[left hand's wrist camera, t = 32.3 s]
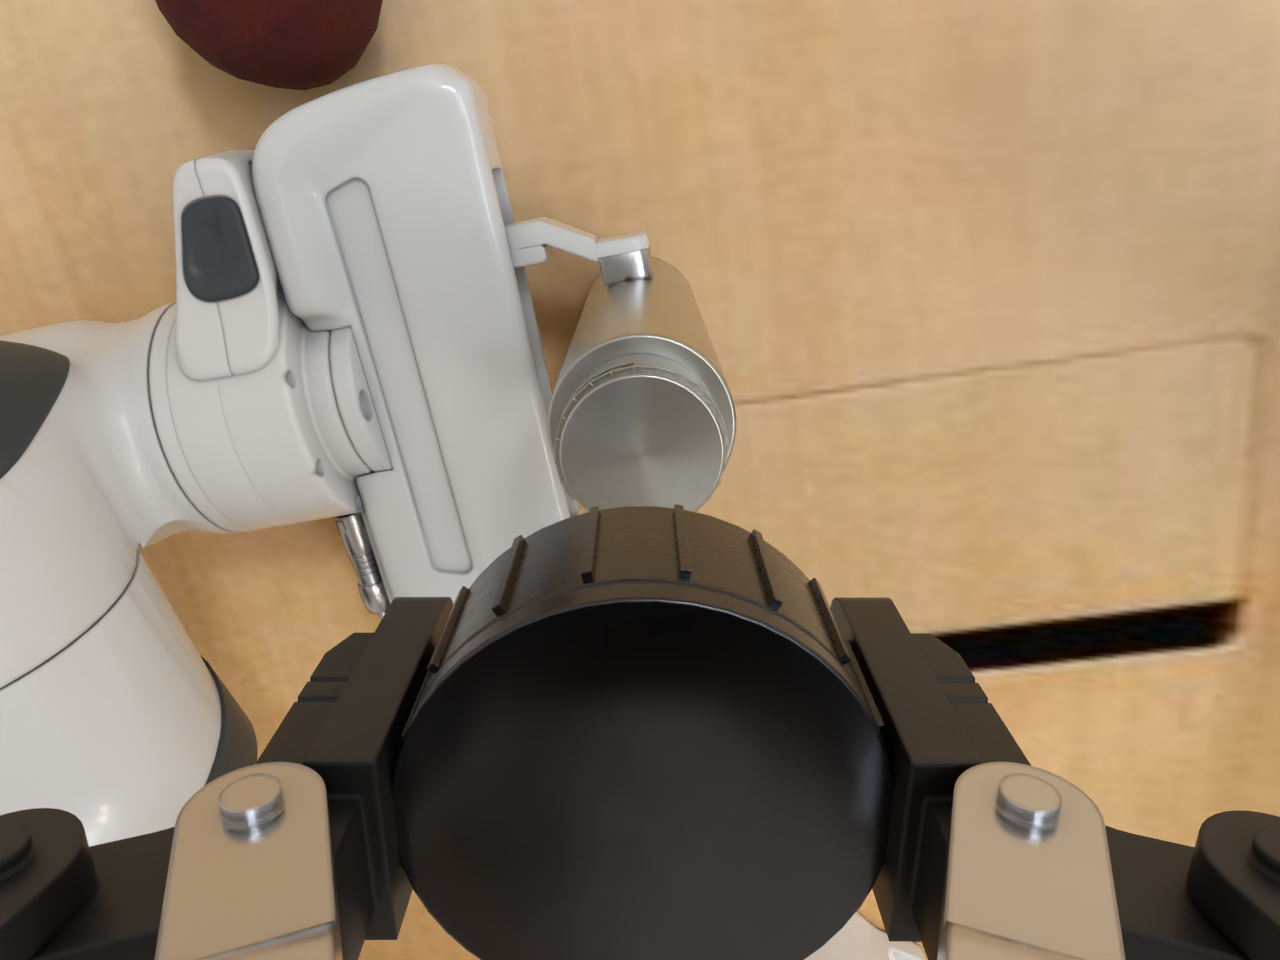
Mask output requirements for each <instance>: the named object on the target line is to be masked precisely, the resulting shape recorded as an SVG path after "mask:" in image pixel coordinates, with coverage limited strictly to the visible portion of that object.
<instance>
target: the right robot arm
mask: <svg viewBox="0 0 1280 960" xmlns="http://www.w3.org/2000/svg"><path fill="white" fill-rule="evenodd" d="M172 200H173V218H174V236H175V257H176V301H174V302H170V303H168V304H165V305H163V306H161V307H158V308H156V309H154V310H153V311H151V312H149V313H148V314H146V315H144V316H142V317H140V318H137V319H134V320H131V321H126V322H117V323H113V322H103V321H94V320H74V321H66V322H61V323H56V324H51V325H46V326H41V327H36V328H31V329H26V330H22V331H18V332H14V333H9V334H5V335H1V336H0V816H1V815H4V814H7V813H11V812H16V811H20V810H27V809H34V808H53V809H60V810H64V811H67V812H70V813H72V814H73V815H75V816H76V817H77V818H78V819H79V820H80V821H81V822H82V825H83V827H84V830H85V834H86V837H87V841H88V845H89V847H90V846H95V845H99V844H104V843H108V842H113V841H117V840H122V839H126V838H131V837H135V836H140V835H145V834H149V833H154V832H157V831H161V830H165V829H169V828H172V827H175V823H176V820H177V816H178V814H179V812H180V811H181V809H182V807H183V806H184V805H185V803H186V802H187V801H188V800H189V799H190V798H191V797H192V796H193V795H194V794H195V793H196V792H197V791H198V790H200V789H201V788H202V787H204V786H205V785H207V784H208V783H210V782H211V781H213V780H215V779H217V778H218V777H220V776H223V775H225V774H227V773H229V772H232V771H234V770H237V769H240V768H243V767H247V766H250V765H254V764H256V762H257V741H256V736H255V732H254V729H253V726H252V724H251V722H250V720H249V719H248V717H247V716H246V714H245V713H244V711H243V710H242V709H241V707H240V706H239V705H238V703H237V702H236V700H235V699H234V698H233V696H232V695H231V694H230V692H229V691H228V689H227V688H226V687H225V685H224V684H223V683H222V681H221V680H220V678H219V677H218V676H217V674H216V673H215V672H214V670H213V669H212V667H211V666H210V665H209V663H208V662H207V661H206V660H205V659H204V658H203V657H202V656H201V655H200V654H199V653H198V651H197V649H196V647H195V646H194V644H193V642H192V640H191V639H190V637H189V635H188V634H187V632H186V630H185V628H184V627H183V625H182V623H181V621H180V620H179V618H178V616H177V614H176V613H175V611H174V609H173V607H172V606H171V604H170V602H169V601H168V599H167V597H166V595H165V594H164V592H163V590H162V588H161V587H160V585H159V583H158V581H157V580H156V578H155V576H154V575H153V573H152V571H151V569H150V568H149V566H148V564H147V562H146V561H145V559H144V557H143V555H142V554H141V552H140V550H139V549H143V548H146V547H148V546H150V545H152V544H155V543H157V542H159V541H161V540H163V539H165V538H167V537H169V536H171V535H174V534H178V533H183V532H190V531H197V532H207V533H213V534H237V533H243V532H250V531H255V530H261V529H267V528H272V527H278V526H284V525H290V524H296V523H301V522H308V521H313V520H319V519H325V518H331V517H335V520H336V524H337V527H338V529H339V532H340V535H341V538H342V541H343V544H344V547H345V550H346V552H347V555H348V556H349V559H350V561H351V562H352V565H353V567H354V570H355V573H356V576H357V579H358V582H359V583H358V589H359V593H360V596H361V599H362V601H363V603H364V605H365V607H366V609H367V610H368V612H369V613H371V614H378V616H379V617H380V618H381V620H382V618H383V617H384V615H385V613H386V611H387V610H388V608H389V606H390V604H391V602H392V601H393V599H394V598H395V597H450V598H451V599H452V601H453V604H454V602H455V600H456V597H457V595H458V593H459V591H460V589H461V588H462V587H463V586H465V587H467V588H468V589H469V588H470V586H471V585H472V584H473V582H474V581H475V580H476V578H477V577H478V576H479V575H480V574H481V573H482V572H483V571H484V570H485V569H486V568H487V567H488V566H489V565H490V564H491V563H492V562H493V561H494V560H495V559H496V558H497V557H499V556H500V555H501V554H503V553H504V552H505V551H507V550H508V549H509V548H511V547H512V544H513V541H514V539H515V538H516V537H518V536H519V535H522V536H523V538H526V537H528V536H529V535H531V534H533V533H535V532H536V531H538V530H540V529H542V528H544V527H547V526H549V525H552V524H554V523H557V522H559V521H562V520H564V519H567V518H569V517H573V516H577V515H580V513H579V509H578V504H577V500H576V499H575V500H573V501H571V499H570V497H569V496H568V494H567V493H566V491H565V489H564V488H563V486H562V484H561V483H560V479H559V475H558V472H557V468H556V464H555V459H554V457H553V454H552V451H551V449H550V445H549V440H548V433H547V414H548V408H549V403H550V399H551V396H552V393H553V392H552V387H551V383H550V378H549V374H548V369H547V365H546V360H545V356H544V351H543V347H542V343H541V338H540V334H539V329H538V325H537V320H536V316H535V311H534V307H533V302H532V298H531V293H530V289H529V284H528V280H527V275H526V271H525V266H528V265H533V264H538V263H543V262H545V261H546V260H547V258H548V257H549V256H550V255H551V253H552V249H551V246H552V247H555V248H557V249H560V250H563V251H566V252H569V253H572V254H575V255H578V256H581V257H583V258H586V259H589V260H592V261H595V262H599V263H600V268H601V273H602V277H603V282H604V286H605V285H611V284H617V283H620V282H624V281H625V280H626V278H627V277H630V278H632V279H643V278H648V277H651V276H653V275H654V271H653V265H652V258H651V252H650V246H649V241H648V235H647V231H637V232H632V233H626V234H621V235H616V236H610V237H605V238H600V239H597V235H594V234H592V233H589V232H586V231H584V230H581V229H578V228H575V227H573V226H570V225H567V224H565V223H562V222H559V221H556V220H554V219H551V218H548V217H546V216H545V217H539V218H534V219H529V220H524V221H518V222H515V221H514V217H513V212H512V208H511V203H510V199H509V194H508V190H507V185H506V181H505V176H504V172H503V167H502V163H501V158H500V154H499V149H498V145H497V140H496V136H495V131H494V127H493V122H492V118H491V113H490V109H489V105H488V100H487V96H486V93H485V91H484V89H483V87H482V86H481V85H480V84H478V83H477V82H476V81H474V80H473V79H472V78H470V77H469V76H468V75H466V74H465V73H463V72H461V71H460V70H458V69H456V68H454V67H452V66H449V65H445V64H429V65H423V66H418V67H413V68H408V69H404V70H400V71H397V72H393V73H389V74H385V75H382V76H378V77H375V78H372V79H369V80H365V81H362V82H359V83H356V84H353V85H350V86H348V87H345V88H342V89H339V90H336V91H334V92H331V93H329V94H326V95H324V96H321V97H318V98H316V99H314V100H311V101H309V102H307V103H304V104H302V105H300V106H298V107H295V108H293V109H292V110H290V111H288V112H286V113H285V114H283V115H282V116H280V117H279V118H278V119H276V120H275V121H274V122H273V123H272V124H271V125H270V126H269V127H268V128H267V129H266V130H265V131H264V133H263V134H262V136H261V137H260V139H259V141H258V143H257V145H256V148H255V150H232V151H225V152H219V153H214V154H209V155H206V156H202V157H199V158H196V159H194V160H191V161H188V162H186V163H184V164H182V165H181V166H180V167H179V168H178V169H177V170H176V172H175V175H174V179H173V187H172ZM804 960H925V956H924V952H923V950H922V949H921V947H919V946H918V945H917V944H915V943H913V942H911V941H889V939H888V936H887V933H885V932H882V931H880V930H879V929H877V928H875V927H874V926H873V925H871V924H870V923H869V922H868V921H867V920H866V919H864V918H863V917H862V916H861V915H860V914H859V913H857V912H855V914H854V915H853V916H852V917H851V918H850V920H849V921H848V922H847V923H846V924H845V926H844V927H843V928H842V929H841V930H840V931H839V932H838V933H836V934H835V935H834V936H833V937H832V938H831V939H830V940H829V941H828V942H827V943H826V944H825V945H824V946H822V947H821V948H820V949H818V950H817V951H816V952H814V953H813V954H811V955H810V956H809V957H807V958H806V959H804Z"/></svg>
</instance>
